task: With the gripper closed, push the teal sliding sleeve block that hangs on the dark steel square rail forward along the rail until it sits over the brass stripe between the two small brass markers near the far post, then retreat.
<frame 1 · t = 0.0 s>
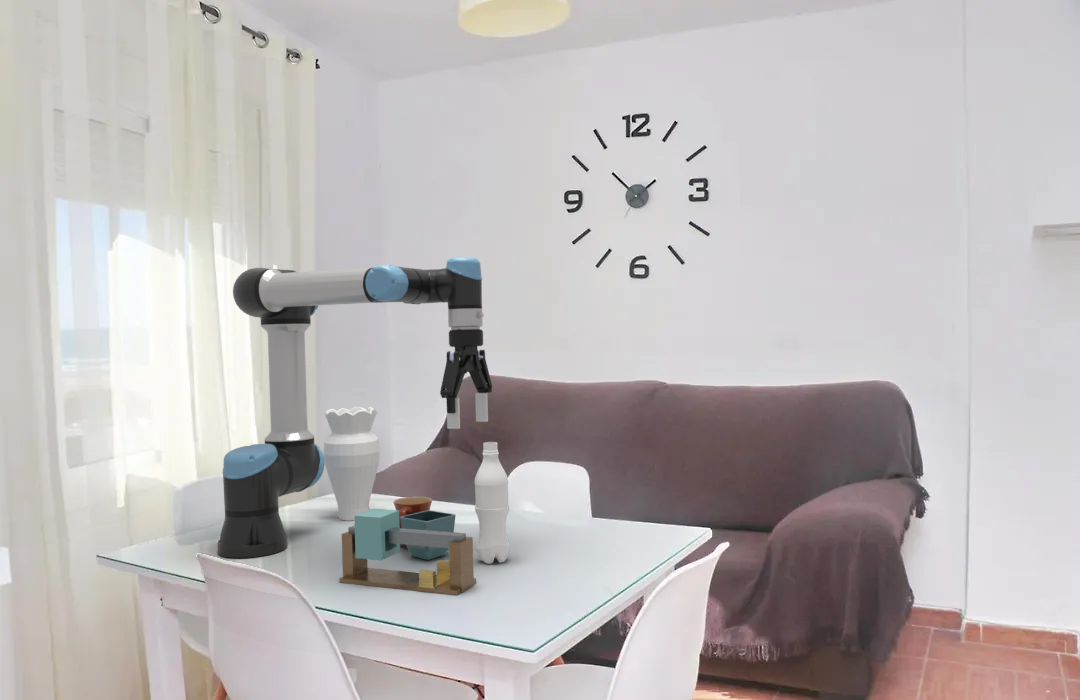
hand: (468, 425, 182), 28 cm above the table, fingers open, 13 cm apart
flower pot: (429, 557, 179), on the table
mug: (411, 547, 188), on the table
water bottle: (493, 561, 174), on the table
rail: (407, 582, 160), on the table
vase: (354, 518, 220), on the table
teal sliding sleeve block: (377, 538, 163), point 8 cm above the table, touching rail
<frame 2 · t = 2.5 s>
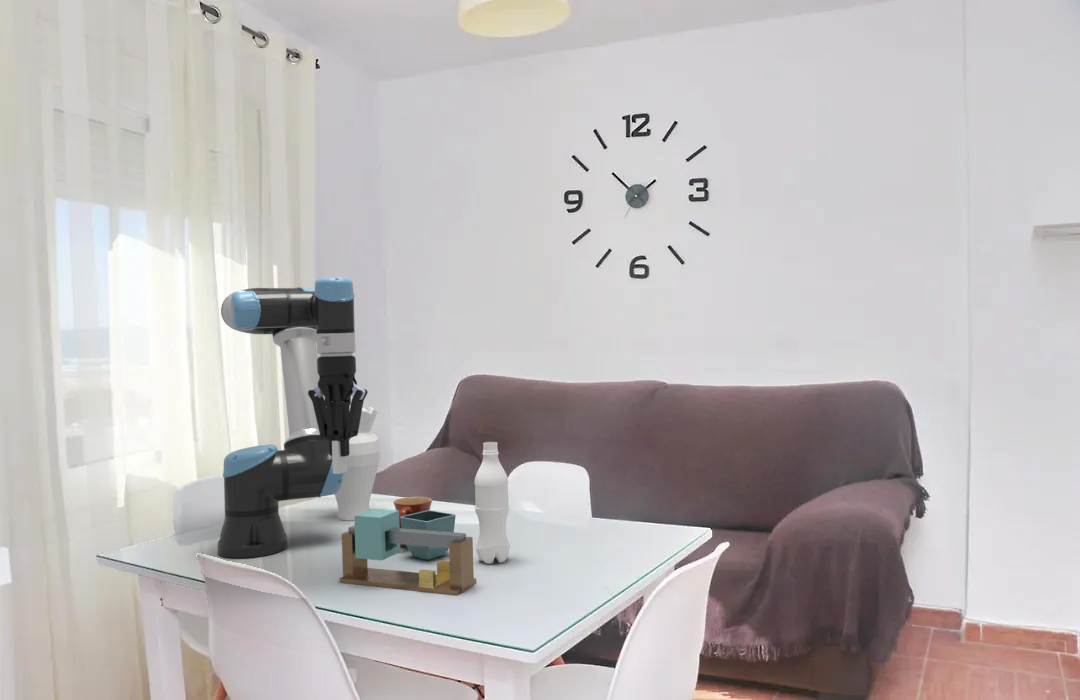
hand: (340, 472, 165), 21 cm above the table, fingers closed
nothing on the table moved.
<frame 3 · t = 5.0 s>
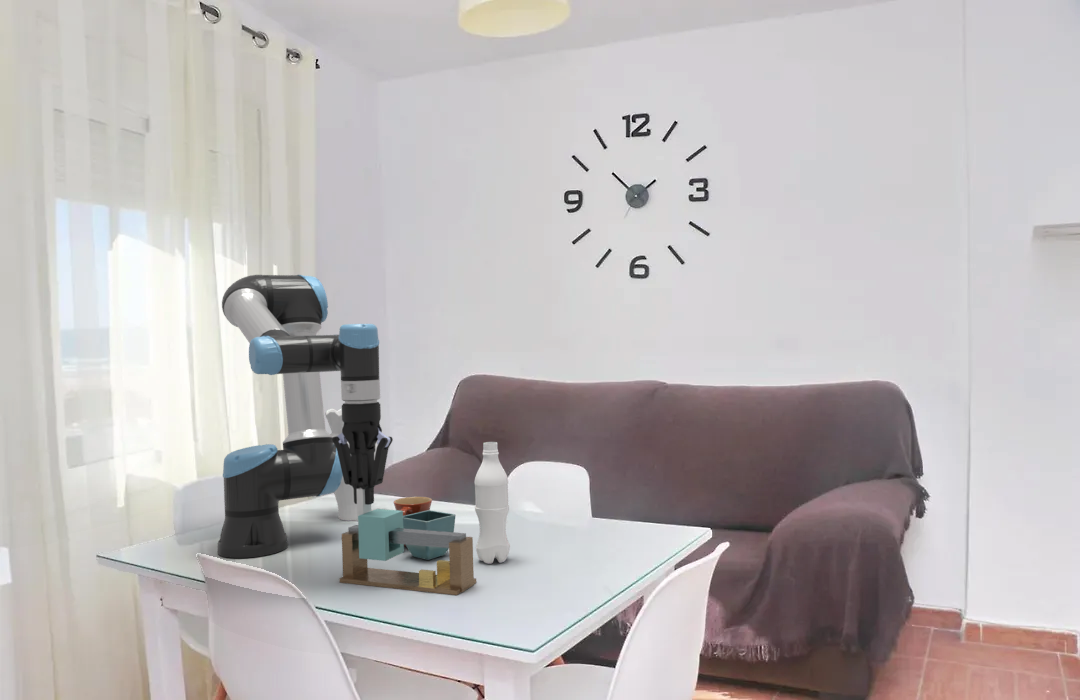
hand: (364, 520, 164), 12 cm above the table, fingers closed
teal sliding sleeve block: (381, 538, 162), point 8 cm above the table, touching gripper, rail
everything else where it was.
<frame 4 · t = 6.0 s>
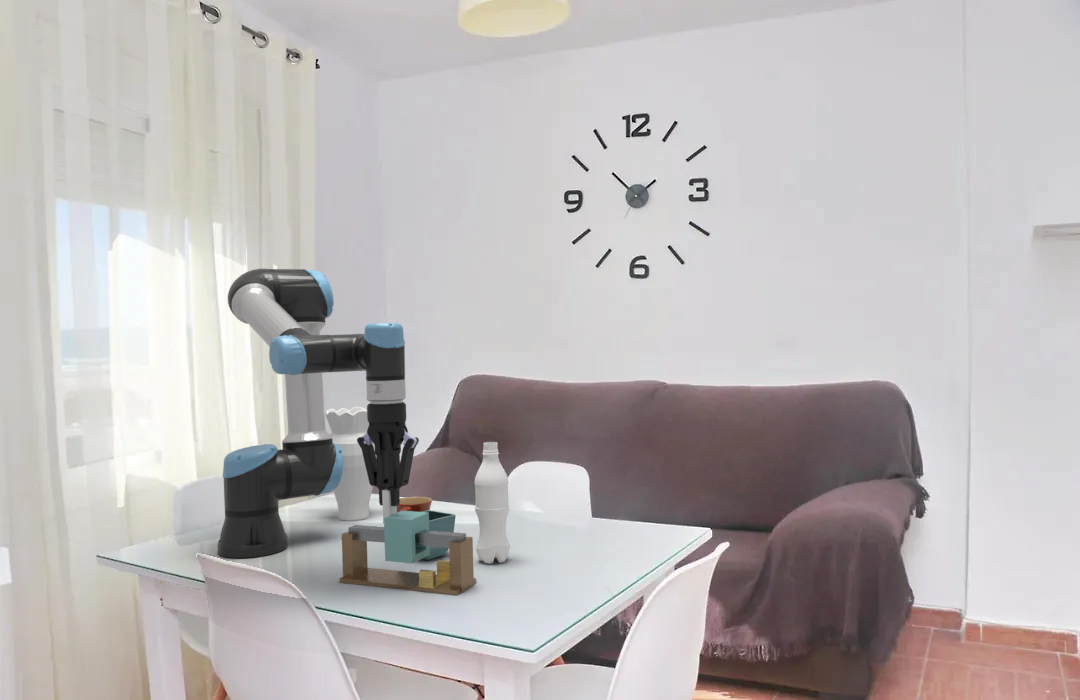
hand: (390, 522, 161), 12 cm above the table, fingers closed
teal sliding sleeve block: (407, 540, 160), point 8 cm above the table, touching gripper, rail
everything else where it was.
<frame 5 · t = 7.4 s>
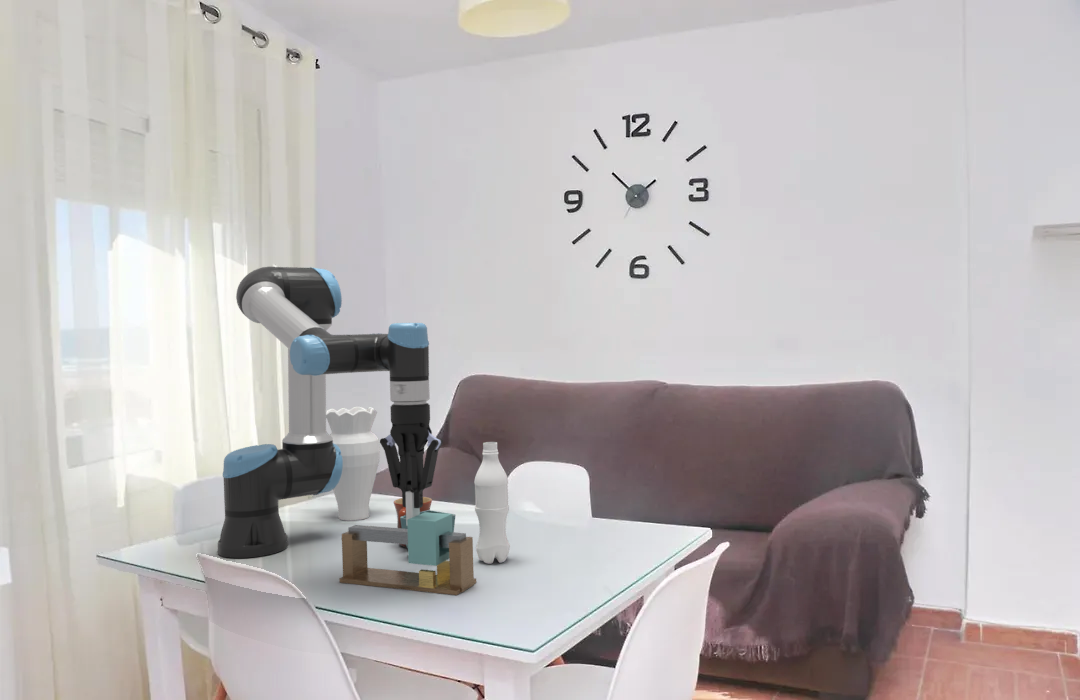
hand: (413, 524, 159), 12 cm above the table, fingers closed
teal sliding sleeve block: (430, 542, 158), point 8 cm above the table, touching gripper, rail
everything else where it was.
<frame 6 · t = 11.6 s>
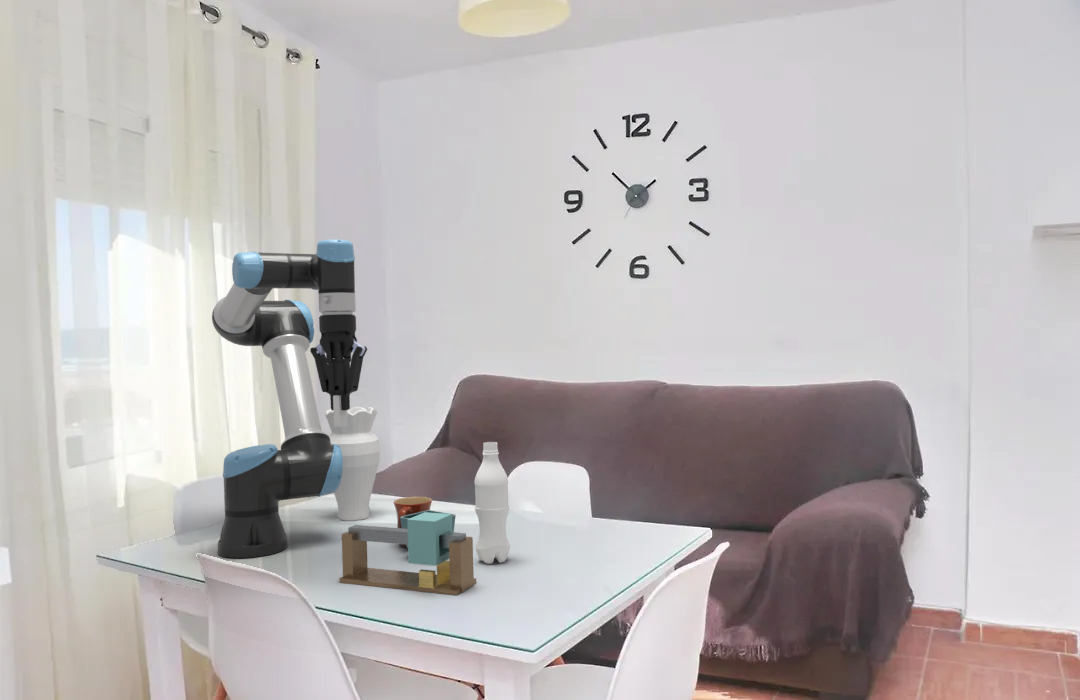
hand: (340, 425, 174), 29 cm above the table, fingers closed
teal sliding sleeve block: (430, 542, 158), point 8 cm above the table, touching rail
everything else where it was.
at the end: teal sliding sleeve block 1.1 cm from the target spot on the rail, point 8.2 cm above the rail's base; the gripper is holding nothing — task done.
